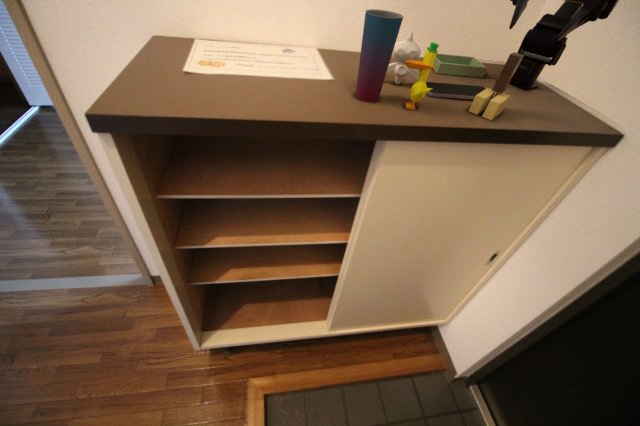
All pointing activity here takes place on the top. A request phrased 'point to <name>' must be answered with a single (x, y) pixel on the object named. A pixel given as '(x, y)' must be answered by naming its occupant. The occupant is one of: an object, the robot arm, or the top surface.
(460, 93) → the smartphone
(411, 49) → the figurine
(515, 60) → the knife
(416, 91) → the toy figure
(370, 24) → the cup
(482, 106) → the butter
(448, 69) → the tray
